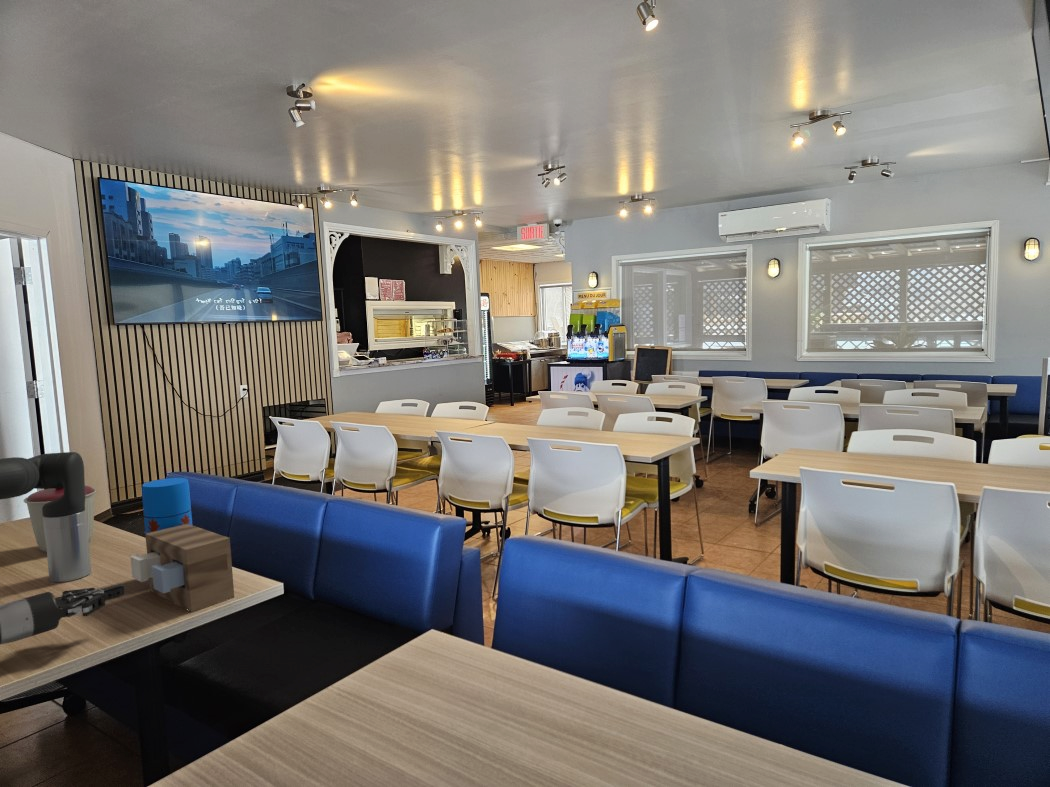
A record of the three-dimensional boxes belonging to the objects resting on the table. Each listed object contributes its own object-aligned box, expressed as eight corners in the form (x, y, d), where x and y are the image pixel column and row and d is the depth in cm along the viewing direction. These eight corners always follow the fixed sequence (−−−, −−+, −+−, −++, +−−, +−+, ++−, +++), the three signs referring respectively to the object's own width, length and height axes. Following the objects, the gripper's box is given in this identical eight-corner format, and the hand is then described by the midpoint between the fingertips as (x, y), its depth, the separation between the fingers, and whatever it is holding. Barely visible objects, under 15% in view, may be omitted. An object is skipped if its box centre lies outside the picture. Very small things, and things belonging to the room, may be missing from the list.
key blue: (153, 588, 148) (151, 566, 147) (204, 572, 156) (202, 551, 156) (163, 593, 144) (161, 570, 144) (215, 577, 153) (213, 555, 153)
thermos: (176, 584, 164) (167, 487, 162) (139, 582, 166) (131, 487, 164) (205, 569, 175) (197, 477, 172) (170, 567, 177) (163, 477, 175)
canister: (26, 548, 199) (18, 480, 197) (95, 534, 211) (89, 470, 209) (33, 562, 186) (25, 489, 184) (107, 546, 198) (100, 478, 196)
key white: (132, 577, 155) (130, 556, 155) (182, 563, 164) (180, 543, 164) (141, 582, 152) (139, 560, 151) (191, 567, 161) (189, 546, 160)
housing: (150, 590, 161) (145, 533, 159) (191, 578, 168) (187, 523, 167) (191, 612, 147) (186, 549, 146) (234, 597, 155) (229, 537, 153)
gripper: (33, 607, 122) (134, 578, 136) (12, 592, 130) (109, 566, 144) (37, 645, 123) (137, 613, 136) (16, 628, 131) (112, 599, 144)
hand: (122, 589), depth 140 cm, fingers closed
